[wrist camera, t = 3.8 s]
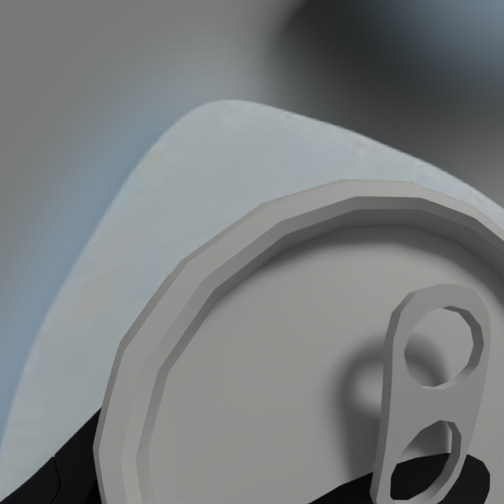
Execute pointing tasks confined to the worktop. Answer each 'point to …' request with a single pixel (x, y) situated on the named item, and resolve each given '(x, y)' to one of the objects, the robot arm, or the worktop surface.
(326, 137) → the worktop surface
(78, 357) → the worktop surface
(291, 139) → the worktop surface
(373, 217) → the can
